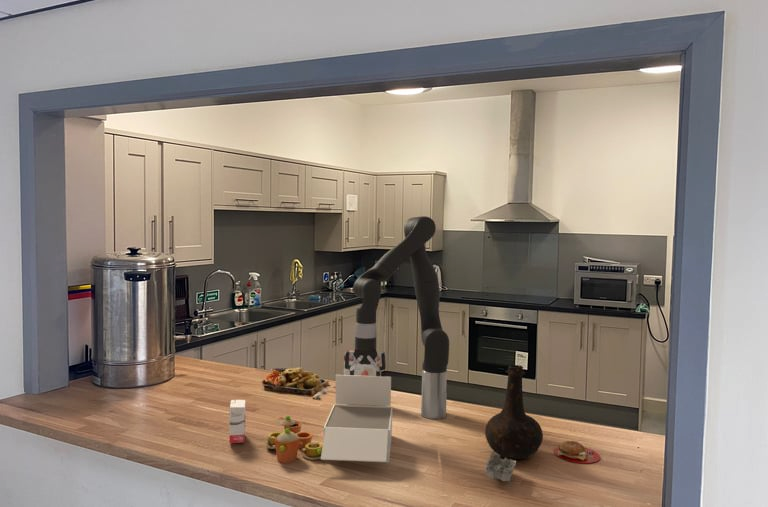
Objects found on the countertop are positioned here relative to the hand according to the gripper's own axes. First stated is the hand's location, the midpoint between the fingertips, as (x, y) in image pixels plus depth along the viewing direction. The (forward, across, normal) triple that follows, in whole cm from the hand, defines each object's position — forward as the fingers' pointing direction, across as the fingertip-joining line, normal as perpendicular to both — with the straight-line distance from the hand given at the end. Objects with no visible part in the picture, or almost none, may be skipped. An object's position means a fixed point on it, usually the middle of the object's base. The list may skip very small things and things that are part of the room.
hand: (364, 381), depth 196 cm
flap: (+7, 0, +6) cm, 9 cm away
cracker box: (+17, +3, -26) cm, 31 cm away
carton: (+17, 0, +18) cm, 24 cm away
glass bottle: (+17, -49, +18) cm, 55 cm away
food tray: (+18, +34, -45) cm, 59 cm away
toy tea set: (+17, +21, +20) cm, 34 cm away
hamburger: (+17, -69, +16) cm, 73 cm away
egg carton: (+17, -40, +34) cm, 55 cm away
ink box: (+17, +41, +14) cm, 46 cm away
